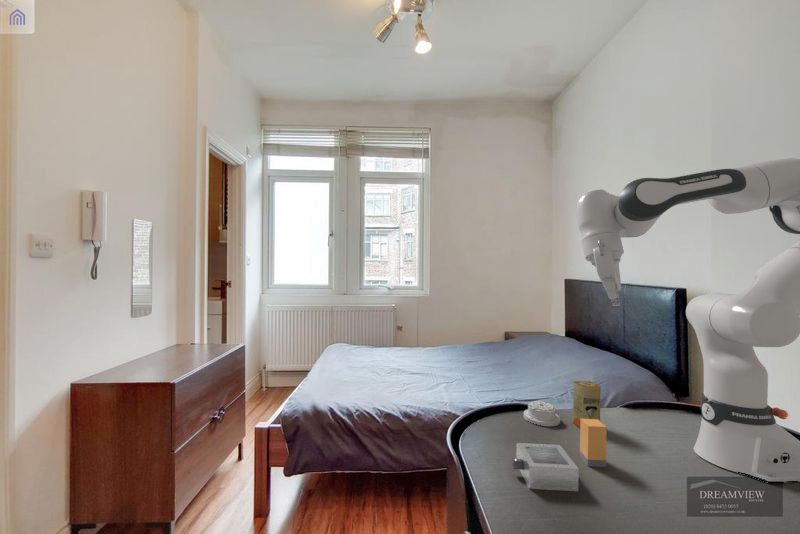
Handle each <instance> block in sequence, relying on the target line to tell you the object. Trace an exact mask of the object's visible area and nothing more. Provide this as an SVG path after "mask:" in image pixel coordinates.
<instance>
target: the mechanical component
mask: <svg viewBox="0 0 800 534" xmlns="http://www.w3.org/2000/svg"><path fill="white" fill-rule="evenodd" d="M556 410H557V408H556V406H555V405H553V404H551V403H550V402H544V401H541V400H540V401H539V400H535V401H530V402H528V405H527V409H525V410H524V411H523V419H524V420H525V421H527V422H528V421H529V423H530V422H531V424H533V423H534V424H533V425H536V424H537V426H540V425H541V427H556V426H559V425H560V424H561V416H559V415H558V414H557V413H556Z"/></svg>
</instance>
